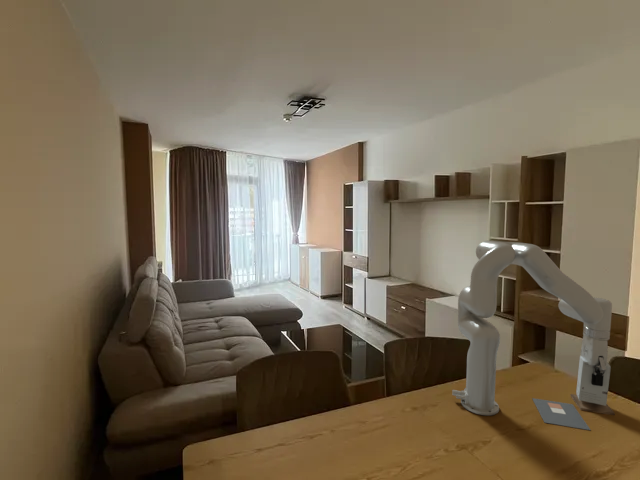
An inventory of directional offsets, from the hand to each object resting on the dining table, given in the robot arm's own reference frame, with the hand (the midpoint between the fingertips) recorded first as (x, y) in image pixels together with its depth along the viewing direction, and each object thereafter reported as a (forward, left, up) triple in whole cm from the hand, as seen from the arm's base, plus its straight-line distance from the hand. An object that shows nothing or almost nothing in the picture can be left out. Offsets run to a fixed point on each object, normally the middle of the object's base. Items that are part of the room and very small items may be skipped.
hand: (592, 380), depth 127 cm
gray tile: (-13, -10, -9) cm, 19 cm away
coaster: (0, 0, -9) cm, 9 cm away
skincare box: (0, 0, -8) cm, 8 cm away
